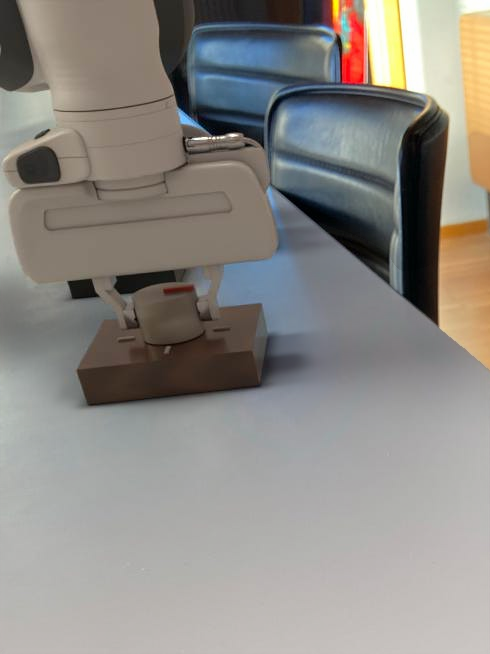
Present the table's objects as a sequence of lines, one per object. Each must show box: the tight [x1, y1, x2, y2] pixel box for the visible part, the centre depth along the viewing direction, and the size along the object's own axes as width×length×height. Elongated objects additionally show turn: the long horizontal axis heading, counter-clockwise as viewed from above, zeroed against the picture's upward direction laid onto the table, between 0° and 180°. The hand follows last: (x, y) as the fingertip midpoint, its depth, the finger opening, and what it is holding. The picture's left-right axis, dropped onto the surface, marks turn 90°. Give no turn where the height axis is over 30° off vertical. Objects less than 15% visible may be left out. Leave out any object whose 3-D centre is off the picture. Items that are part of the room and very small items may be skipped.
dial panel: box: [75, 302, 269, 406], centre depth 87 cm, size 14×12×3 cm
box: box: [66, 269, 186, 299], centre depth 109 cm, size 11×10×4 cm
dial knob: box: [131, 281, 205, 345], centre depth 85 cm, size 5×5×4 cm
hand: (171, 323), depth 85 cm, fingers closed on dial knob, 5 cm apart
